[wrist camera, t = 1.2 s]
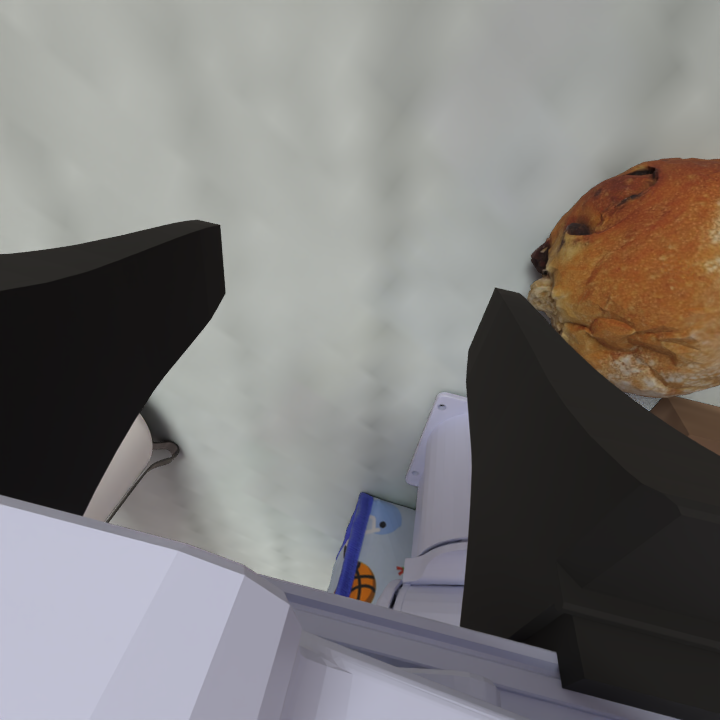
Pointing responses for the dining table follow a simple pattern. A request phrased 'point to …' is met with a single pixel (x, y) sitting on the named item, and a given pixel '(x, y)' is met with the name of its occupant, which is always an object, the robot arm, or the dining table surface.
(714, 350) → the bread roll
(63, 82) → the dining table surface
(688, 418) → the roll holder
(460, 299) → the dining table surface
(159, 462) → the coffee press
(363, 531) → the lunch bag
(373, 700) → the robot arm
